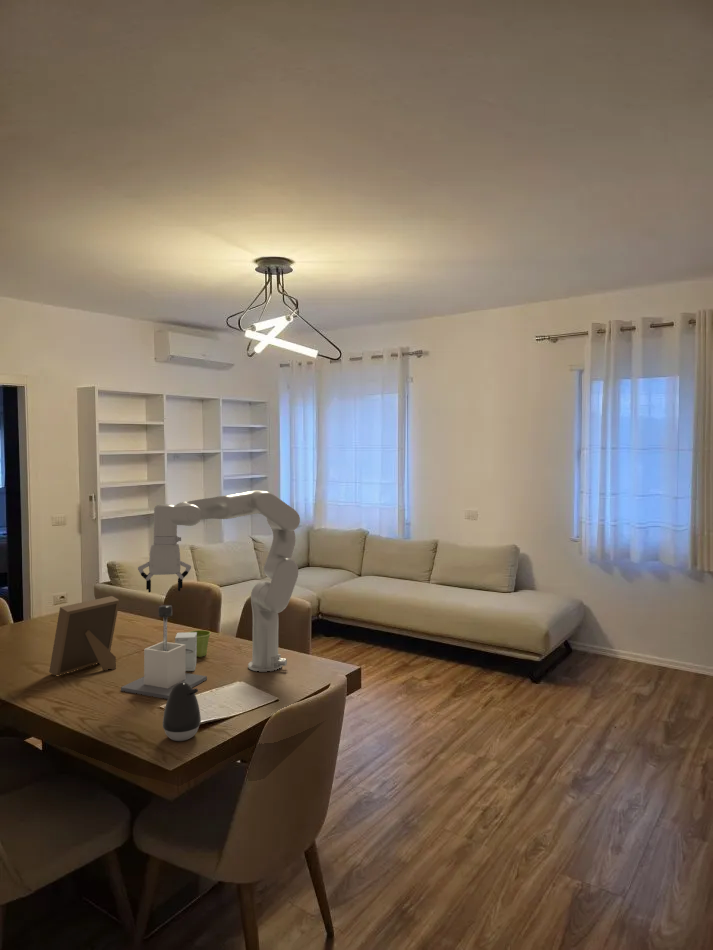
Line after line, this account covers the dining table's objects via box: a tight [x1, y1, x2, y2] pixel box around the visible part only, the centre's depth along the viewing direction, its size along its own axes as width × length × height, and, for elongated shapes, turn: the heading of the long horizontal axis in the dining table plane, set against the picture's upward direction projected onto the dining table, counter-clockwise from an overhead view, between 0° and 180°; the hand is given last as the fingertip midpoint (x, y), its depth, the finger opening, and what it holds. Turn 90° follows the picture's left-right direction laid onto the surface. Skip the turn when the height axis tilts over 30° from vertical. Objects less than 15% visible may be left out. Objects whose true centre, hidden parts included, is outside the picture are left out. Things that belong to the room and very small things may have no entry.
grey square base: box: [120, 641, 208, 700], centre depth 215 cm, size 20×20×13 cm
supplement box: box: [174, 631, 197, 672], centre depth 232 cm, size 7×7×13 cm
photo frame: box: [49, 595, 120, 676], centre depth 229 cm, size 15×22×25 cm
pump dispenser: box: [162, 682, 202, 742], centre depth 175 cm, size 10×10×15 cm
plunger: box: [158, 604, 173, 651], centre depth 214 cm, size 7×7×17 cm
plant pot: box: [190, 629, 212, 658], centre depth 248 cm, size 9×9×9 cm
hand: (164, 591), depth 214 cm, fingers open, 9 cm apart
